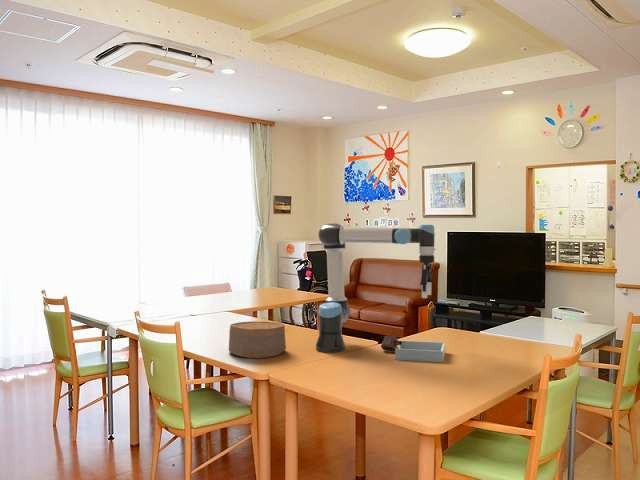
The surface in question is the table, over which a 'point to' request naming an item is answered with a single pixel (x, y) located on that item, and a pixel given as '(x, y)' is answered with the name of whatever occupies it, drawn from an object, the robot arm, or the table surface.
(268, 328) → the container
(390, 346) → the electronic device
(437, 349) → the walled box
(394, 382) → the table surface
